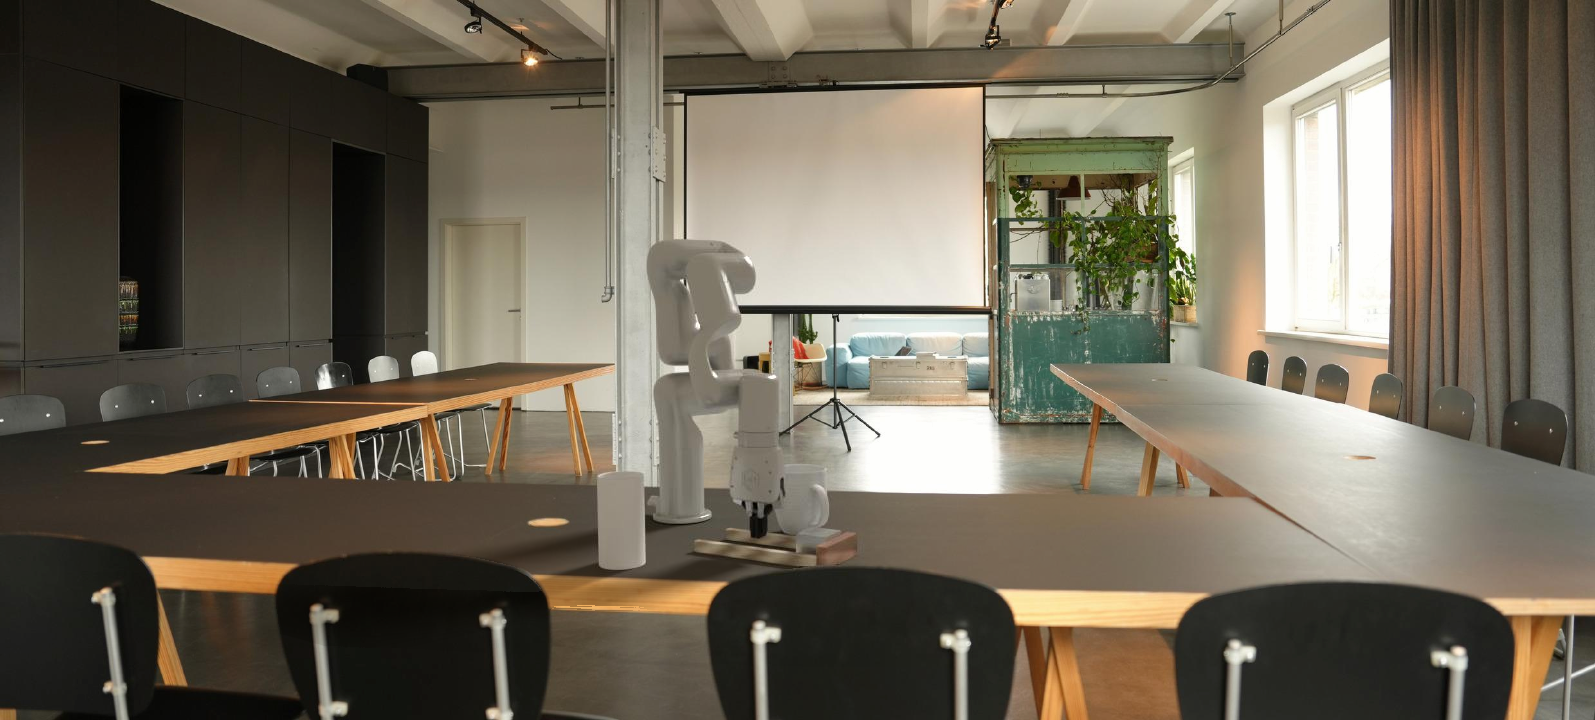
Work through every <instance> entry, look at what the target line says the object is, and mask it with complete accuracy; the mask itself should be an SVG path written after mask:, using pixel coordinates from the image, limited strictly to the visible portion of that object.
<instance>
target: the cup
mask: <svg viewBox="0 0 1595 720" xmlns="http://www.w3.org/2000/svg"><path fill="white" fill-rule="evenodd" d="M596 486H597V487H596V491H597V492H596V493H597V495H596V496H597V497H596V498H597V529H598V530H597V537H598V538H597V539H598V540H597V541H598V566H599V567H600V568H601V569H605V570H612V571H618V570H619V571H621V570H623V571H624V570H632V569H636V568H640V567H642V566H644V565H645V564H646V563H647V562H646V559H647V558H646V515H645V514H646V512H645V511H646V510H645V509H646V508H645V474H644V473H643V472H640V471H634V470H633V471H630V470H628V471H627V470H620V471H619V470H618V471H608V472H603V473H599V474H597V476H596Z"/></svg>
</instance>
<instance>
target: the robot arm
mask: <svg viewBox="0 0 1595 720" xmlns="http://www.w3.org/2000/svg"><path fill="white" fill-rule="evenodd" d="M646 275H647V279H648V284H649V286H650V289H651V292H652V296H653V300H654V305H655V322H656V323H655V324H656V326H655V327H656V338H657V339H656V340H657V350H658V356H659V359H660V361H661V362H662V363H663V364H664V365H666V366H669V367H684V366H685V367H687V368H688V371H684V372H683V371H681V372H670V373H667V374H664V375H662V376H660V377H659V378H658V379H657V380H656V381H655V383H654V386H653V392H652V393H653V394H652V396H653V402H654V407H655V411H656V419H657V429H658V431H657V432H658V456H659V457H658V467H659V469H658V470H659V475H658V476H659V496H658V495H650V497H649V499H648V500H647V502H646V503H647V506H649V507H655V511H654V512H653V513H652V519H653V521H655V522H659V523H662V524H663V523H664V524H671V525H672V524H674V525H675V524H676V525H677V524H679V525H681V524H683V525H684V524H685V525H686V524H696V523H700V522H704V521H708V520H709V519H711V518H712V511H711V510H710V509H708V508H705V479H704V478H705V474H704V473H705V471H704V468H705V467H704V437H703V434H702V431H701V429H700V427H698V425H697V423H696V422H695V421H694V419H693V417H697V416H706V415H707V416H710V415H718V414H719V415H720V414H723V413H725V412H727V411H728V410H731V409H738V430H737V431H734V433H733V438H734V439H737V443H738V445H735V446H734V449H733V453H732V457H731V463H730V475H729V494H730V497H731V498H732V501H733V503H735V504H737V505H740V506H742V507H743V508H744V510H745V511H746V515H747V516H748V517H749V530H750V532H751V534H750V536H751V538H756V539H759V538H762V537H764V536H766V534H767V533H768V527H769V526H768V523H769V522H768V518H769V517H768V516H769V515H771V513H772V512H773V511H775V509H781V508H783V507H785V503H784V498H785V495H786V473H785V465H786V464H785V457H784V452H783V449H782V446H781V447H780V445H779V444H780V382H779V381H780V380H779V378H778V377H777V375H775V374H774V373H773V374H772V373H768V372H767V373H766V372H765V373H764V372H763V371H761V370H759V369H755V368H740V369H739V368H738V369H737V368H736V369H735V368H734V369H733V362H732V361H733V360H732V359H733V358H732V357H733V356H732V345H731V344H732V343H731V339H730V336H729V335H730V334H731V333H733V332H735V330H737V329H738V328H739V327H740V326H741V323H742V314H741V311H740V309H739V305H738V300H737V297H736V295H746V294H749V293H750V292H752V291H753V289H754V287H755V286H756V279H757V273H756V269H755V266H754V264H753V262H752V260H751V259H750V258H749V256H748V255H747V254H746V253H745V252H743V251H741V249H740V250H739V249H738V248H736V247H734V246H733V245H731V244H729V243H727V242H724V241H722V240H709V239H707V240H706V239H691V238H690V239H686V238H682V239H681V238H670V239H663V240H659V241H656V242H655V243H654V244H653V245H651V247H650V248H649V250H648V253H647V257H646ZM682 280H686V282H687V285H688V287H687V286H686V285H685V284H684V282H682ZM774 501H775V502H774Z"/></svg>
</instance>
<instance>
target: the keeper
mask: <svg viewBox="0 0 1595 720" xmlns="http://www.w3.org/2000/svg"><path fill="white" fill-rule="evenodd" d="M840 535H842V530H840V529H832V528H824V527H823V528H822V527H819V528H817V527H810V528H808V529H806V530H804V531H801V532H799V533H797V534H796V549H795V552H796V553H803V554H811V555H816V546H818V545H820V544H823V543H825V542H827V541H829V540H831V539H833V538H835V537H838V536H840Z"/></svg>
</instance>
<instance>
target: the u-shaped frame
mask: <svg viewBox="0 0 1595 720" xmlns="http://www.w3.org/2000/svg"><path fill="white" fill-rule="evenodd" d="M750 534H751V532H750V529H742V528H734V527H729V528H725V540H726V541H735V542H744V543H748V544H757V545H766V546H772V547H778V548H787V549H793V550H796V536H794V535H788V534H784V533H783V534H782V533H773V532H767V534H766V536H764V537H762V538H759V539H756V538H751V536H750ZM693 551H694V552H695V553H701V554H708V555H716V556H723V557H730V558H736V559H743V560H751V561H757V562H763V563H765V562H766V563H771V564H777V565H778V564H779V565H784V566H785V565H786V566H792V567H799V566H815V565H833V564H838V565H840V564H842V563H844V562H846V561H848V560H851V559H852V558H854V557H856V556H857V555H858V533H857V532H851V531H846V532H845V533H841V535H840V536H838V537H835V538H833V539H831V540H829V541H827V542H825V543H823V544H820V545H818V546H816V555H811V554H803V553H796V551H786V550H780V549H773V548H765V547H758V546H752V545H751V546H750V545H742V544H736V543H729V542H721V541H715V540H714V541H713V540H709V539H708V540H707V539H699V538H698V539H696V540H694V541H693ZM799 568H800V567H799Z"/></svg>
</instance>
